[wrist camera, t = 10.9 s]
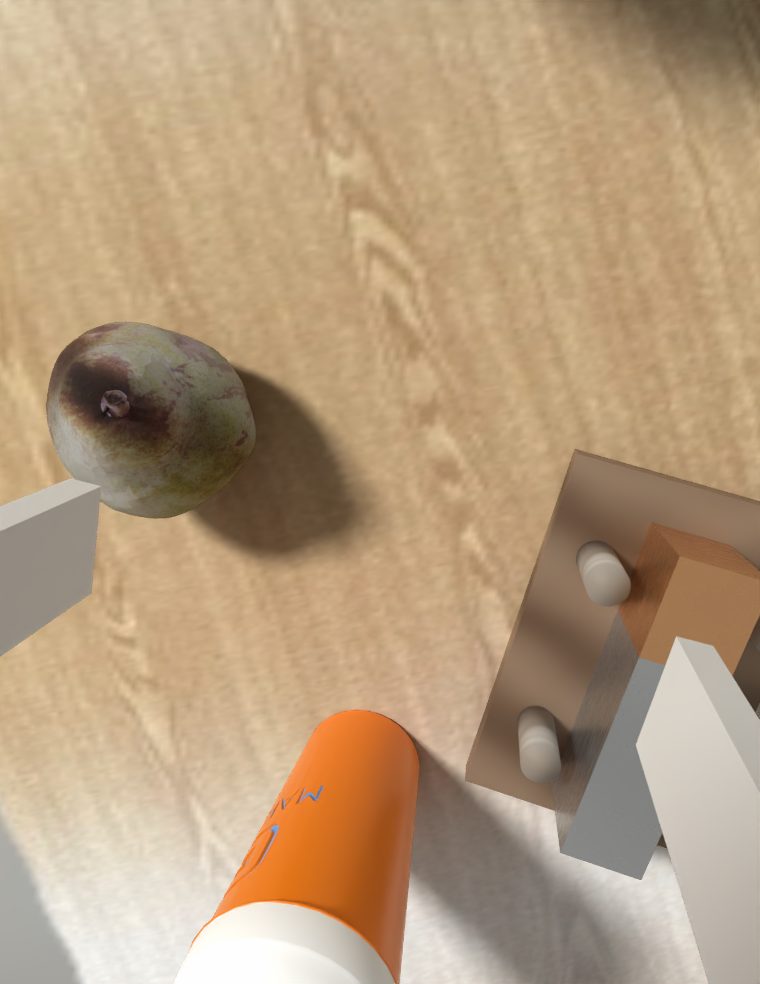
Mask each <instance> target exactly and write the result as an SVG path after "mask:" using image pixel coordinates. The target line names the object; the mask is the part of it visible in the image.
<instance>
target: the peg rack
mask: <svg viewBox="0 0 760 984" xmlns="http://www.w3.org/2000/svg"><path fill="white" fill-rule="evenodd" d="M651 522H653V523H656V524H659V525H663V526H666V527H670V528H673V529H677V530H680V531H683V532H687V533H690V534H694V535H697V536H701V537H704V538H707V539H711V540H714V541H718V542H721V543H725V544H728V545H731V546H732V547H733V548H734V549H735V550H736V551H738V552H739V553H740V554H741V555H742V556H743V557H744V558H745V559H746V560H748V561H749V562H750V563H751V564H752V565H753V566H754V567H755V568H757V569H758V570H759V571H760V502H759V501H756V500H752V499H749V498H745V497H742V496H738V495H735V494H731V493H728V492H724V491H721V490H717V489H714V488H710V487H707V486H703V485H700V484H696V483H693V482H689V481H685V480H682V479H678V478H675V477H671V476H668V475H664V474H661V473H657V472H654V471H650V470H647V469H643V468H640V467H636V466H633V465H629V464H626V463H622V462H619V461H615V460H612V459H608V458H605V457H601V456H598V455H594V454H590V453H587V452H583V451H580V450H576V449H575V450H574V453H573V456H572V459H571V462H570V465H569V468H568V471H567V474H566V477H565V479H564V482H563V485H562V488H561V491H560V494H559V497H558V500H557V503H556V506H555V509H554V511H553V514H552V517H551V520H550V523H549V526H548V529H547V532H546V535H545V538H544V541H543V543H542V546H541V549H540V552H539V555H538V558H537V561H536V564H535V567H534V570H533V572H532V575H531V578H530V581H529V584H528V587H527V590H526V593H525V596H524V599H523V602H522V604H521V607H520V610H519V613H518V616H517V619H516V622H515V625H514V628H513V631H512V634H511V636H510V639H509V642H508V645H507V648H506V651H505V654H504V657H503V660H502V663H501V666H500V668H499V671H498V674H497V677H496V680H495V683H494V686H493V689H492V692H491V695H490V697H489V700H488V703H487V706H486V709H485V712H484V715H483V718H482V721H481V724H480V727H479V729H478V732H477V735H476V738H475V741H474V744H473V747H472V750H471V753H470V756H469V759H468V761H467V764H466V777H465V781H468V782H471V783H474V784H477V785H480V786H483V787H486V788H489V789H492V790H495V791H498V792H501V793H504V794H507V795H510V796H513V797H516V798H519V799H522V800H525V801H528V802H531V803H534V804H536V805H539V806H542V807H545V808H548V809H551V810H554V811H555V807H554V799H553V792H552V784H551V781H552V780H554V779H555V778H556V777H557V776H558V775H559V773H560V771H561V761H560V758H561V756H562V753H563V750H564V748H565V745H566V743H567V740H568V737H569V735H570V732H571V730H572V727H573V724H574V722H575V719H576V717H577V714H578V712H579V709H580V706H581V704H582V701H583V699H584V696H585V693H586V691H587V688H588V686H589V683H590V680H591V678H592V675H593V673H594V670H595V667H596V665H597V662H598V660H599V657H600V655H601V652H602V649H603V647H604V644H605V642H606V639H607V636H608V634H609V631H610V629H611V626H612V623H613V621H614V618H615V616H616V613H617V610H618V608H619V605H620V603H622V602H623V601H624V600H625V599H626V598H627V597H628V595H629V593H630V589H631V582H630V577H631V574H632V572H633V569H634V566H635V564H636V561H637V559H638V556H639V554H640V551H641V548H642V546H643V543H644V541H645V538H646V535H647V533H648V530H649V528H650V525H651ZM732 677H733V678H734V680H735V681H736V683H737V685H738V686H739V688H740V689H741V691H742V693H743V694H744V696H745V697H746V699H747V701H748V702H749V704H750V705H751V707H752V708H753V710H754V712H755V711H756V709H757V707H758V705H759V703H760V615H759V618H758V620H757V622H756V624H755V627H754V629H753V631H752V633H751V636H750V638H749V640H748V642H747V644H746V647H745V649H744V651H743V653H742V656H741V658H740V660H739V662H738V665H737V667H736V669H735V671H734V674H733V676H732ZM657 845H659V846H662V847H665V848H667V845H666V842H665V839H664V836H663V832H662V835H661V837H660V839H659V841H658V843H657Z"/></svg>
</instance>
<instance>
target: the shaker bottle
mask: <svg viewBox="0 0 760 984" xmlns="http://www.w3.org/2000/svg"><path fill="white" fill-rule="evenodd" d="M418 782H419V759H418V754H417V751H416V748H415V746H414V744H413V742H412V740H411V739H410V737H409V736H408V735H407V733H406V732H405V731H404V730H403V729H402V728H401V727H400V726H399V725H398V724H396V723H395V722H393V721H392V720H390V719H389V718H387V717H384V716H382V715H380V714H377V713H373V712H370V711H362V710H352V711H344V712H341V713H338V714H335V715H333V716H331V717H329V718H328V719H326V720H325V721H324V722H322V723H321V724H320V725H319V726H318V727H317V728H316V730H315V731H314V732H313V734H312V736H311V737H310V739H309V741H308V743H307V745H306V747H305V748H304V750H303V752H302V754H301V756H300V758H299V759H298V761H297V763H296V765H295V767H294V769H293V770H292V772H291V774H290V776H289V778H288V780H287V781H286V783H285V785H284V787H283V789H282V791H281V793H280V794H279V796H278V798H277V800H276V802H275V804H274V805H273V807H272V809H271V811H270V813H269V815H268V816H267V818H266V820H265V822H264V824H263V826H262V827H261V829H260V831H259V833H258V835H257V837H256V838H255V840H254V842H253V844H252V846H251V848H250V850H249V851H248V853H247V855H246V857H245V859H244V861H243V863H242V866H241V867H240V869H239V870H238V872H237V873H236V875H235V878H234V880H233V881H232V883H231V884H230V886H229V888H228V890H227V892H226V894H225V896H224V898H223V900H222V901H221V903H220V905H219V907H218V908H217V910H216V912H215V914H214V916H213V918H212V919H211V920H210V921H209V922H208V923H207V924H205V925H204V926H203V928H202V929H201V930H200V932H199V933H198V934H197V936H196V937H195V938H194V940H193V942H192V945H191V947H190V950H189V952H188V955H187V957H186V959H185V961H184V963H183V965H182V967H181V969H180V971H179V973H178V975H177V977H176V979H175V982H174V984H399V983H400V973H401V962H402V952H403V941H404V930H405V920H406V909H407V898H408V888H409V877H410V867H411V856H412V845H413V835H414V824H415V813H416V803H417V792H418Z"/></svg>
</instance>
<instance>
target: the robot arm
mask: <svg viewBox="0 0 760 984" xmlns="http://www.w3.org/2000/svg"><path fill="white" fill-rule="evenodd" d="M100 494H101V486H98V485H94V484H91V483H87V482H83V481H79V480H75V479H71V478H70V479H68V480H65V481H63V482H60V483H58V484H55V485H53V486H50V487H47V488H45V489H42V490H40V491H37V492H35V493H32V494H30V495H27V496H25V497H22V498H20V499H17V500H15V501H12V502H10V503H7V504H4V505H2V506H0V656H2V655H3V654H5V653H6V652H7V651H9V650H10V649H12V648H13V647H15V646H16V645H17V644H19V643H20V642H22V641H23V640H25V639H26V638H28V637H29V636H30V635H32V634H33V633H35V632H36V631H38V630H39V629H40V628H42V627H43V626H45V625H46V624H48V623H49V622H51V621H52V620H53V619H55V618H56V617H58V616H59V615H61V614H62V613H64V612H65V611H66V610H68V609H69V608H71V607H72V606H74V605H75V604H76V603H78V602H79V601H81V600H82V599H84V598H85V597H87V596H88V595H89V594H91V592H92V581H93V570H94V559H95V548H96V537H97V526H98V515H99V505H100ZM636 748H637V751H638V754H639V757H640V761H641V764H642V767H643V770H644V774H645V777H646V780H647V784H648V787H649V790H650V793H651V797H652V800H653V803H654V806H655V810H656V813H657V816H658V819H659V823H660V826H661V829H662V832H663V836H664V839H665V842H666V845H667V849H668V852H669V855H670V859H671V862H672V865H673V868H674V872H675V875H676V878H677V881H678V885H679V888H680V891H681V894H682V898H683V901H684V904H685V907H686V911H687V914H688V917H689V921H690V924H691V927H692V930H693V934H694V937H695V940H696V943H697V947H698V950H699V953H700V956H701V960H702V963H703V966H704V969H705V973H706V976H707V979H708V982H709V984H760V720H759V718H758V716H757V715H756V713H755V712H754V710H753V708H752V707H751V705H750V704H749V702H748V701H747V699H746V697H745V696H744V694H743V693H742V691H741V689H740V688H739V686H738V685H737V683H736V681H735V680H734V678H733V677H732V675H731V673H730V672H729V670H728V669H727V667H726V665H725V664H724V662H723V661H722V659H721V657H720V656H719V654H718V653H717V651H716V649H715V648H714V646H712V645H708V644H704V643H700V642H697V641H693V640H689V639H685V638H681V637H677V636H676V638H675V641H674V644H673V646H672V649H671V652H670V654H669V657H668V660H667V662H666V665H665V668H664V671H663V673H662V676H661V679H660V681H659V684H658V687H657V689H656V692H655V695H654V697H653V700H652V703H651V705H650V708H649V711H648V713H647V716H646V719H645V722H644V724H643V727H642V730H641V732H640V735H639V738H638V740H637V743H636Z"/></svg>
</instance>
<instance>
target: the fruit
mask: <svg viewBox="0 0 760 984" xmlns="http://www.w3.org/2000/svg"><path fill="white" fill-rule="evenodd" d="M46 411H47V421H48V427H49V431H50V434H51V438H52V442H53V445H54V448H55V450H56V453H57V455H58V457H59V458H60V460H61V462H62V463H63V465H64V466H65V468H66V469H67V470H68V472H69V473H70V474H71V475H72V476H73V477H74V479H75V480H79V481H83V482H87V483H91V484H94V485H98V486H101V494H100V501H101V502H102V503H104V504H105V505H107V506H108V507H110V508H112V509H114V510H117V511H120V512H123V513H126V514H130V515H134V516H139V517H145V518H170V517H174V516H178V515H180V514H183V513H185V512H187V511H189V510H191V509H193V508H195V507H196V506H198V505H200V504H201V503H203V502H204V501H206V500H207V499H208V498H210V497H211V496H213V495H214V494H216V493H217V492H218V491H219V490H221V489H222V488H223V487H224V486H225V485H226V484H227V483H228V482H229V481H230V480H231V479H232V478H233V477H234V476H235V475H236V473H237V472H238V471H239V470H240V469H241V467H242V466H243V465H244V463H245V462H246V460H247V459H248V458H249V456H250V454H251V453H252V450H253V448H254V445H255V441H256V428H255V422H254V418H253V414H252V411H251V408H250V405H249V402H248V399H247V396H246V392H245V388H244V386H243V383H242V381H241V379H240V378H239V376H238V374H237V373H236V371H235V370H234V369H233V367H232V366H231V365H230V363H229V362H228V361H227V360H226V359H225V358H224V357H223V356H222V355H221V354H220V353H219V352H217V351H216V350H215V349H213V348H212V347H210V346H208V345H206V344H204V343H202V342H200V341H198V340H196V339H193V338H190V337H188V336H185V335H182V334H179V333H176V332H173V331H170V330H165V329H162V328H159V327H155V326H152V325H148V324H143V323H135V322H115V323H109V324H105V325H102V326H99V327H96V328H93V329H91V330H89V331H87V332H86V333H84V334H83V335H81V336H79V337H78V338H77V339H75V340H74V341H73V342H71V343H70V344H69V345H68V346H67V347H66V348H65V349H64V350H63V351H62V352H61V354H60V355H59V357H58V359H57V361H56V363H55V365H54V368H53V371H52V374H51V378H50V383H49V388H48V394H47V403H46Z"/></svg>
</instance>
